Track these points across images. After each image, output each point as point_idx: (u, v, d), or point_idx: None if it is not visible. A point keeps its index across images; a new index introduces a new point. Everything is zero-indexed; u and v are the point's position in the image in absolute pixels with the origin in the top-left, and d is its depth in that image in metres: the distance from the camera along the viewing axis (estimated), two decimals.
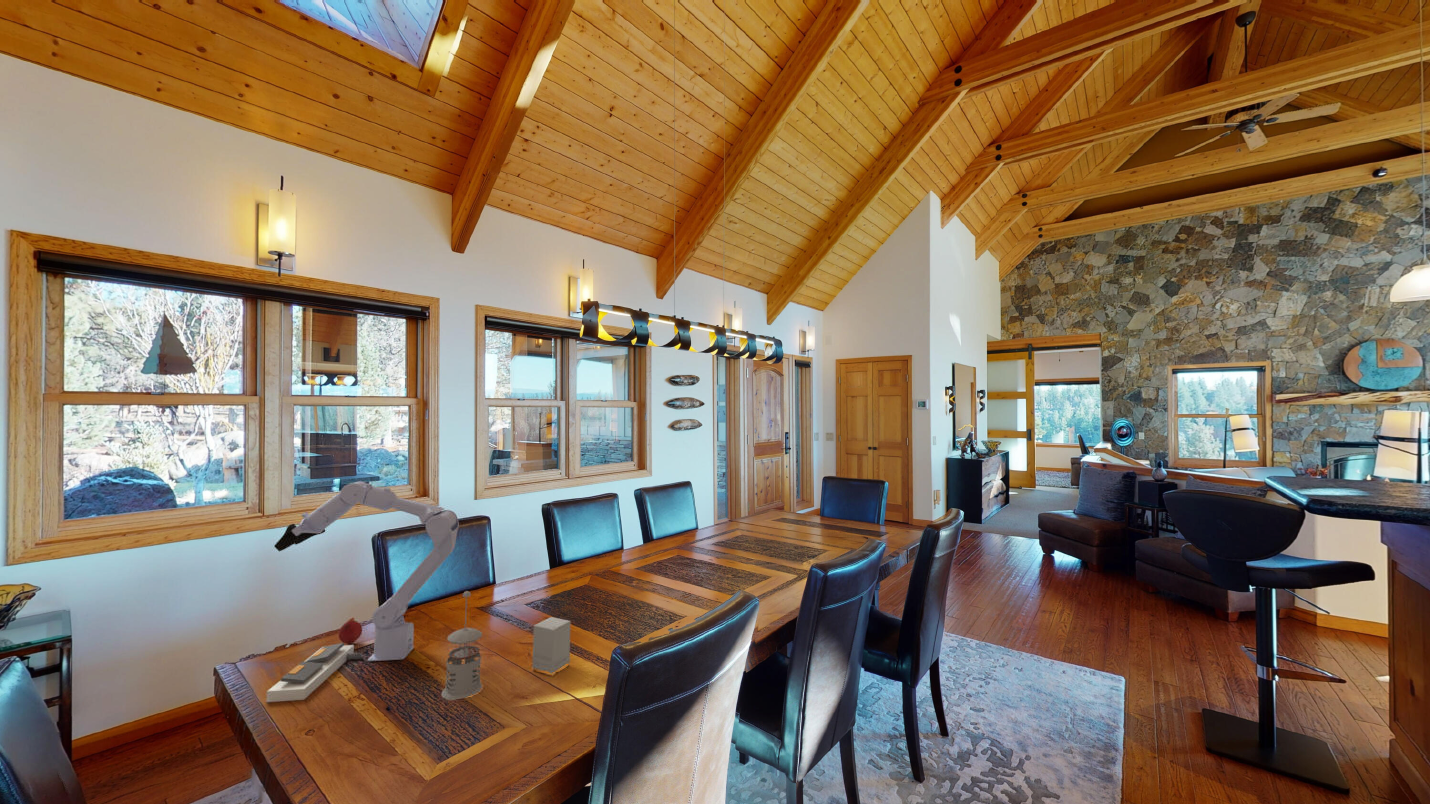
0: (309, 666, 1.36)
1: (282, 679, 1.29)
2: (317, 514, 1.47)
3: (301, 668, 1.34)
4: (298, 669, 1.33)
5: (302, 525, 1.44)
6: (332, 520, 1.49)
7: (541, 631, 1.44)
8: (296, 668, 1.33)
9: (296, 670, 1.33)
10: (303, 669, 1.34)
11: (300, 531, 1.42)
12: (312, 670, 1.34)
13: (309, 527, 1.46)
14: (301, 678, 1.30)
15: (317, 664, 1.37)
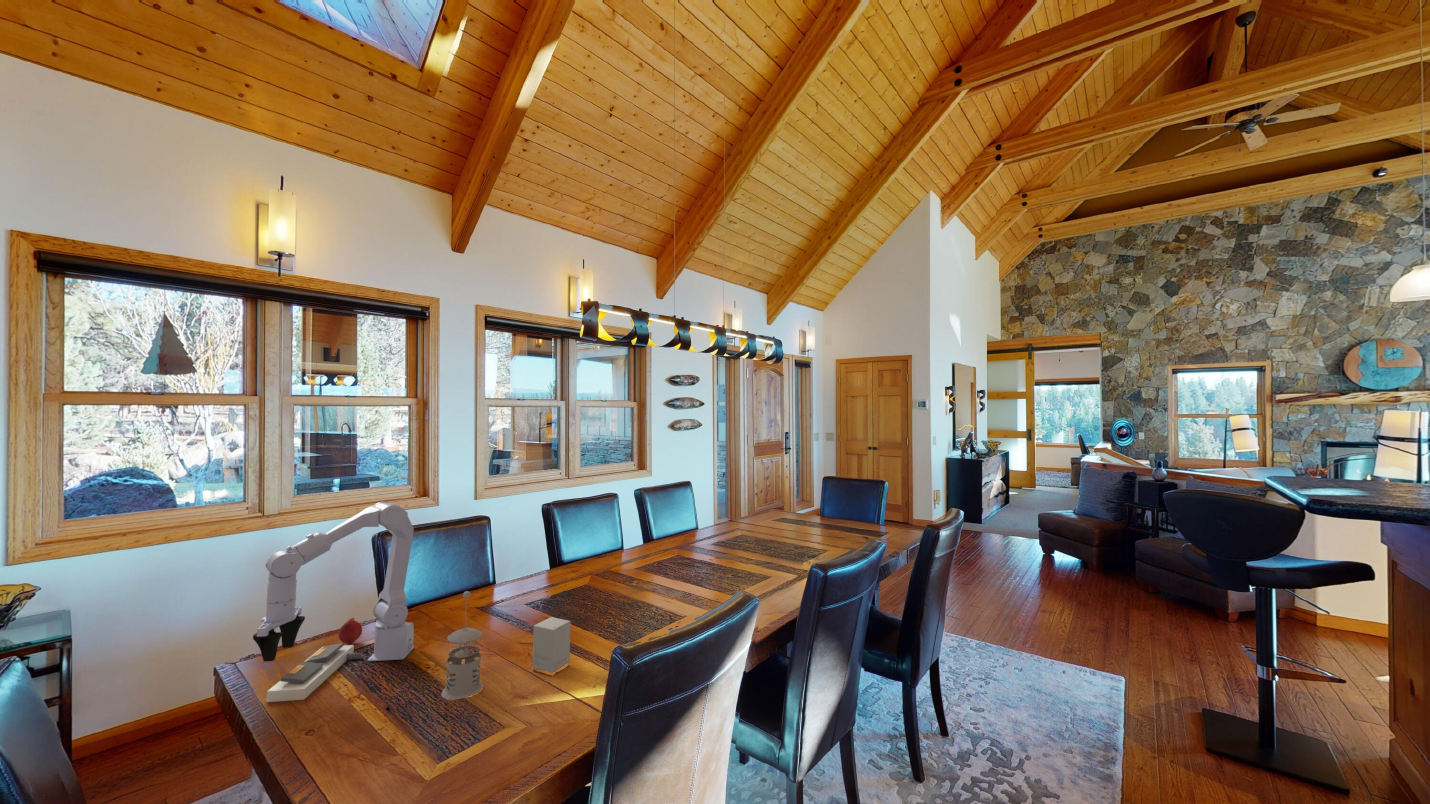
0: (309, 666, 1.36)
1: (282, 679, 1.29)
2: (270, 607, 1.30)
3: (301, 668, 1.34)
4: (298, 669, 1.33)
5: (265, 625, 1.28)
6: (289, 600, 1.32)
7: (541, 631, 1.44)
8: (296, 668, 1.33)
9: (296, 670, 1.33)
10: (303, 669, 1.34)
11: (265, 629, 1.26)
12: (312, 670, 1.34)
13: (275, 622, 1.30)
14: (301, 678, 1.30)
15: (317, 664, 1.37)
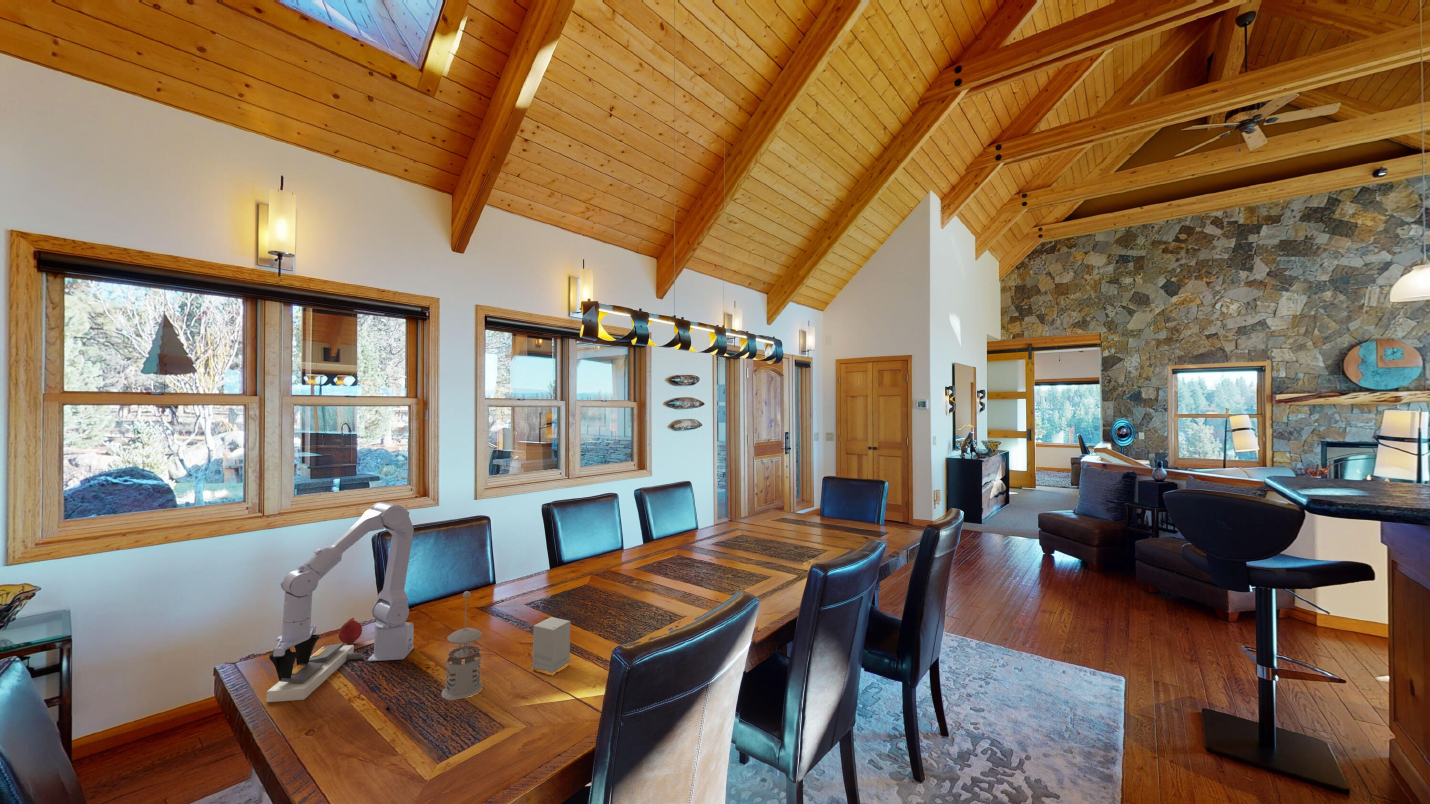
0: (309, 666, 1.36)
1: (282, 679, 1.29)
2: (286, 626, 1.31)
3: (301, 668, 1.34)
4: (298, 669, 1.33)
5: (281, 645, 1.29)
6: (305, 619, 1.33)
7: (541, 631, 1.44)
8: (296, 668, 1.33)
9: (296, 670, 1.33)
10: (303, 669, 1.34)
11: (281, 649, 1.26)
12: (312, 670, 1.34)
13: (291, 641, 1.30)
14: (301, 678, 1.30)
15: (317, 664, 1.37)
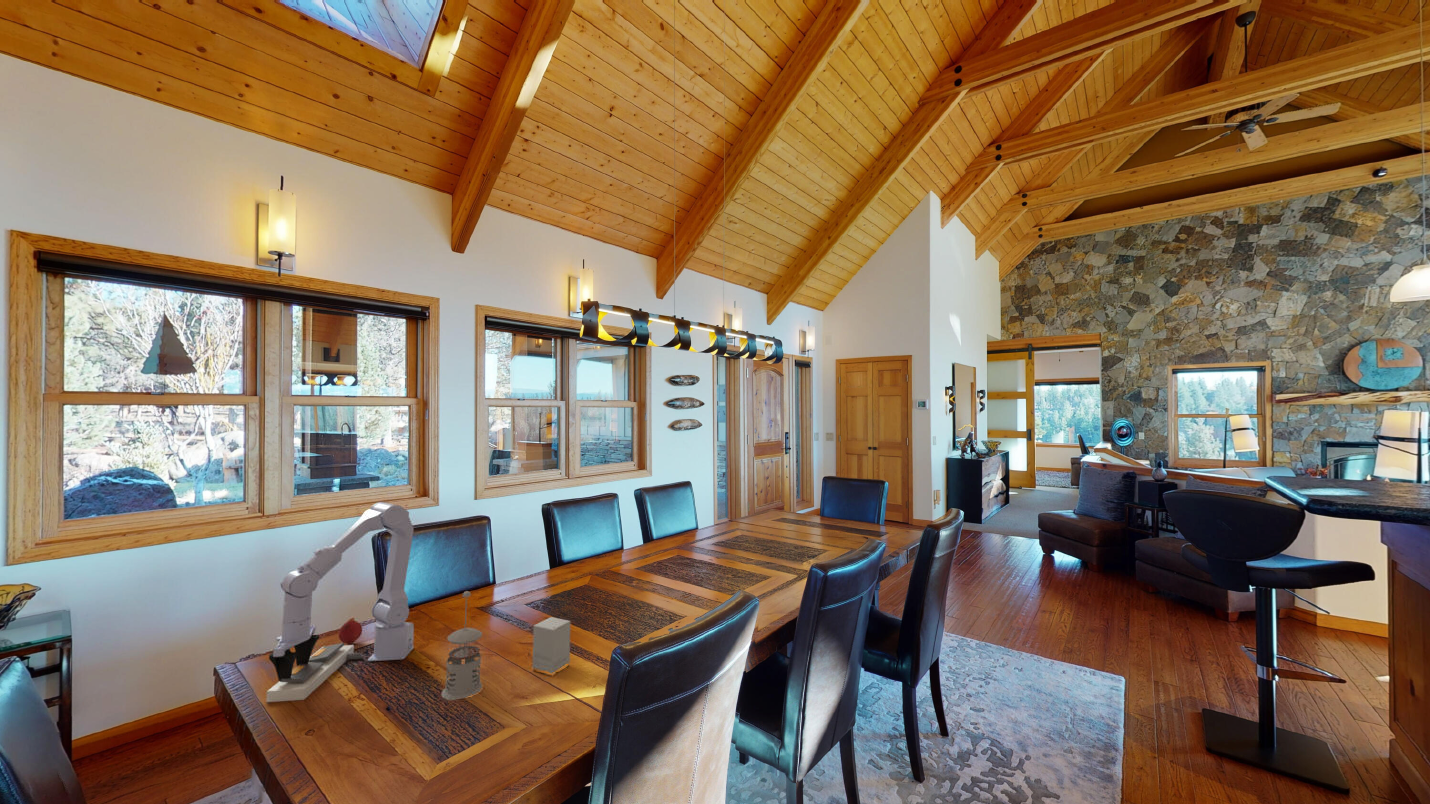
0: (309, 666, 1.36)
1: (282, 680, 1.29)
2: (286, 627, 1.31)
3: (301, 668, 1.34)
4: (298, 669, 1.33)
5: (281, 645, 1.29)
6: (305, 620, 1.33)
7: (541, 631, 1.44)
8: (296, 669, 1.33)
9: (296, 670, 1.33)
10: (303, 669, 1.34)
11: (281, 649, 1.26)
12: (312, 669, 1.34)
13: (291, 642, 1.30)
14: (301, 677, 1.30)
15: (317, 663, 1.37)
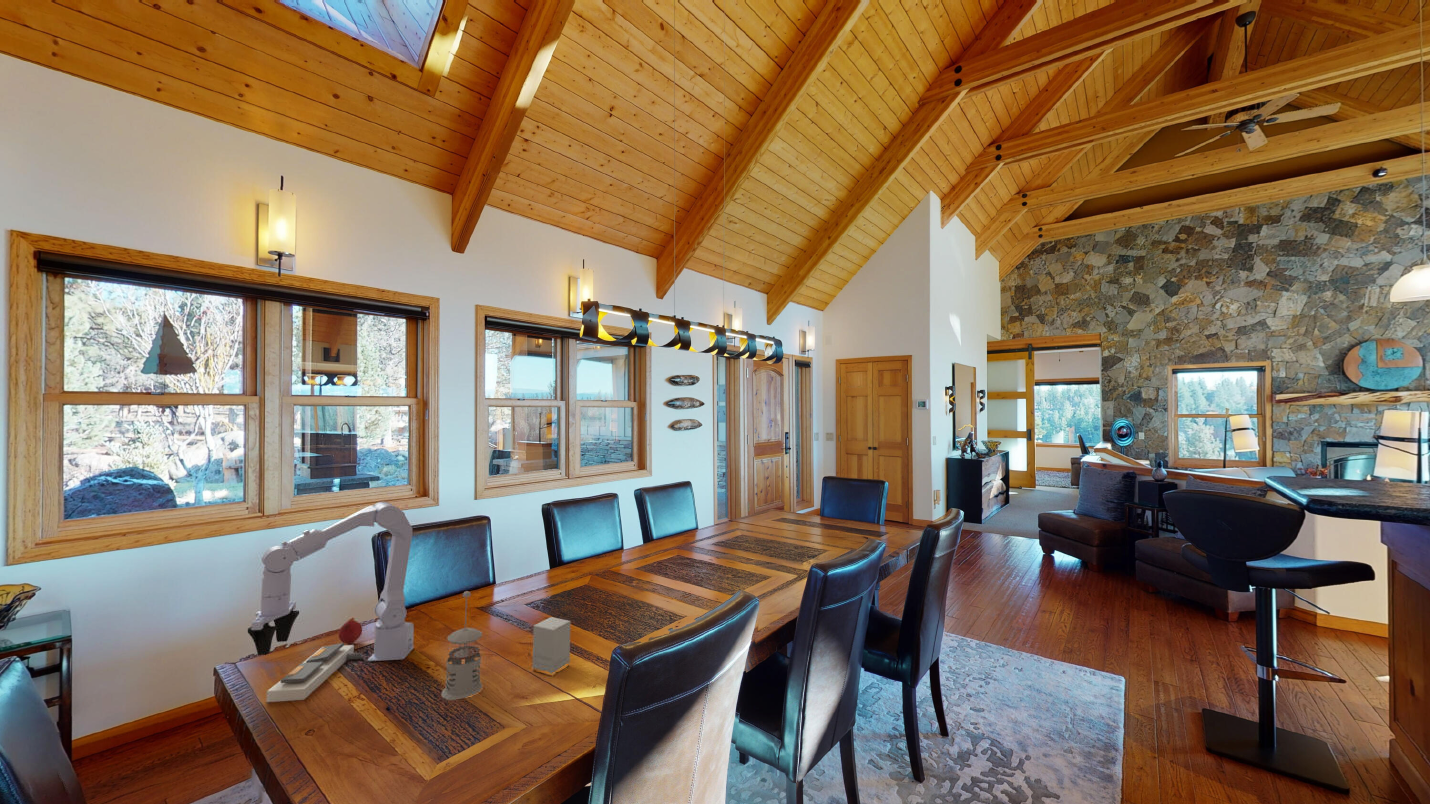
0: (309, 666, 1.36)
1: (282, 681, 1.29)
2: (265, 601, 1.32)
3: (301, 669, 1.34)
4: (297, 670, 1.33)
5: (259, 619, 1.30)
6: (284, 594, 1.34)
7: (541, 631, 1.44)
8: (295, 669, 1.33)
9: (295, 671, 1.33)
10: (302, 669, 1.34)
11: (259, 623, 1.27)
12: (312, 669, 1.34)
13: (269, 616, 1.31)
14: (301, 677, 1.30)
15: (317, 663, 1.37)
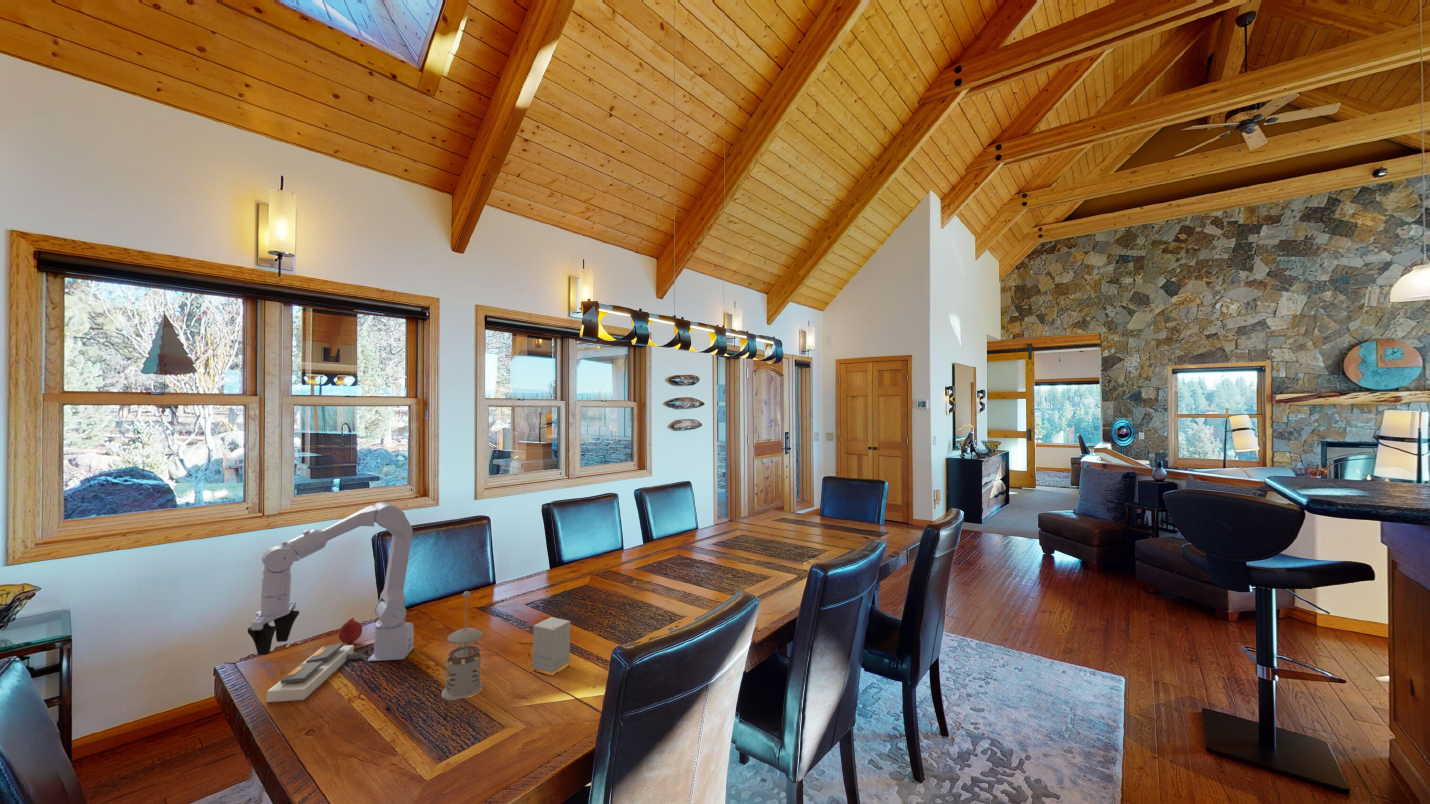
0: (309, 666, 1.36)
1: (282, 681, 1.29)
2: (265, 601, 1.32)
3: (300, 669, 1.34)
4: (297, 670, 1.33)
5: (259, 619, 1.30)
6: (284, 594, 1.34)
7: (541, 631, 1.44)
8: (295, 670, 1.33)
9: (295, 671, 1.33)
10: (302, 669, 1.34)
11: (259, 623, 1.27)
12: (312, 668, 1.34)
13: (269, 616, 1.31)
14: (301, 676, 1.30)
15: (317, 662, 1.37)
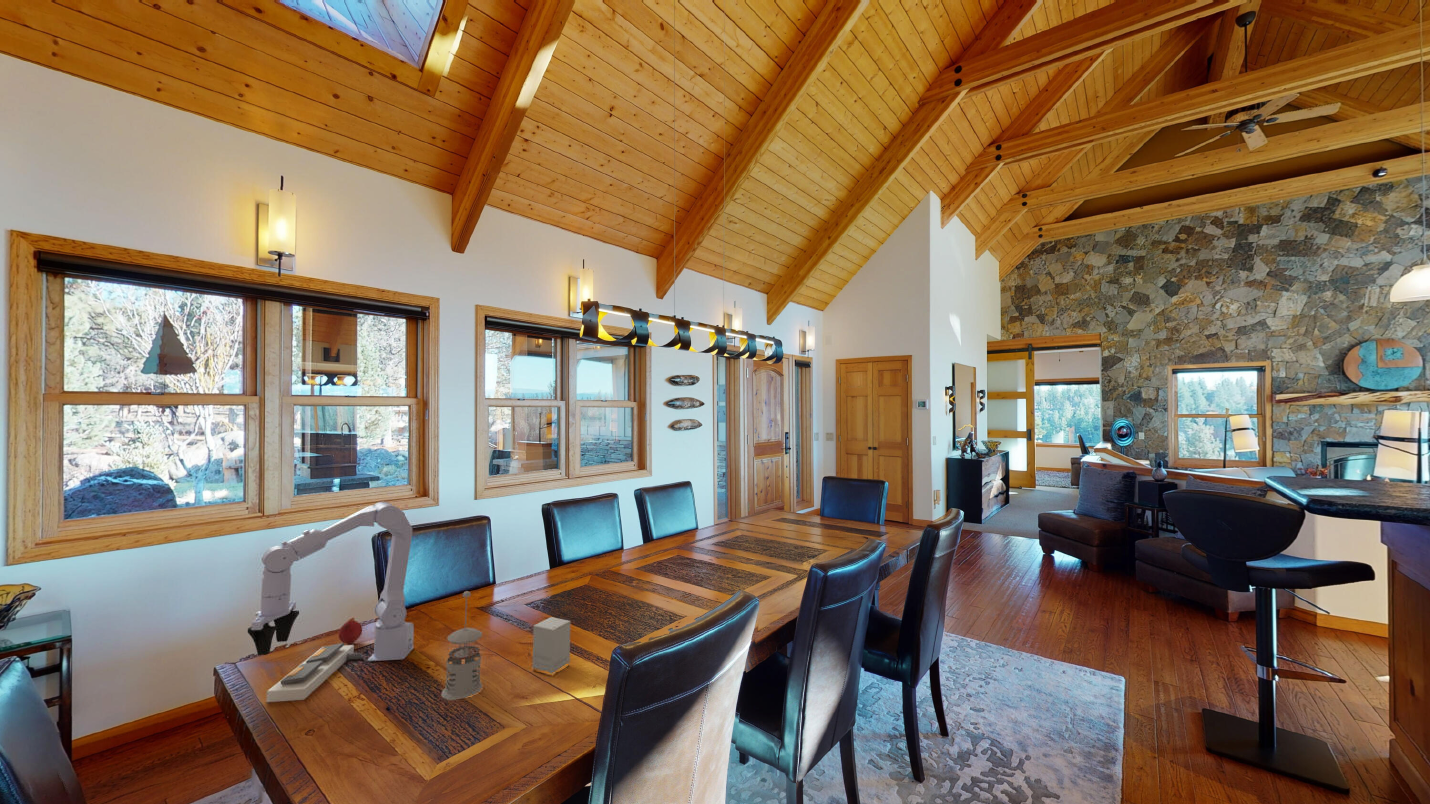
0: (309, 666, 1.36)
1: (282, 682, 1.29)
2: (265, 601, 1.32)
3: (300, 669, 1.34)
4: (297, 670, 1.33)
5: (259, 619, 1.30)
6: (284, 594, 1.34)
7: (541, 631, 1.44)
8: (295, 670, 1.33)
9: (295, 672, 1.33)
10: (302, 669, 1.34)
11: (259, 623, 1.27)
12: (312, 668, 1.34)
13: (269, 616, 1.31)
14: (301, 676, 1.30)
15: (317, 662, 1.37)
